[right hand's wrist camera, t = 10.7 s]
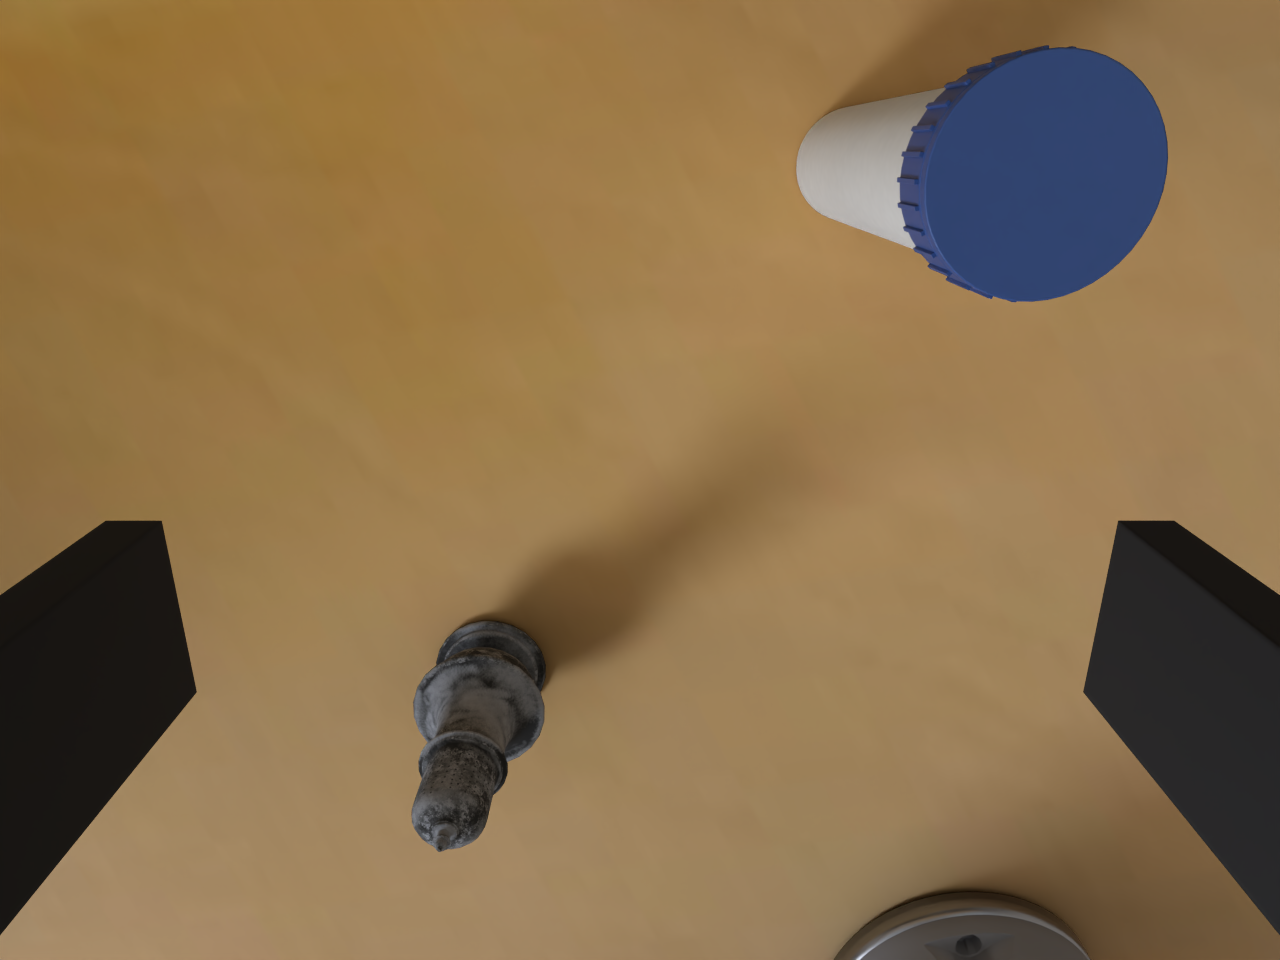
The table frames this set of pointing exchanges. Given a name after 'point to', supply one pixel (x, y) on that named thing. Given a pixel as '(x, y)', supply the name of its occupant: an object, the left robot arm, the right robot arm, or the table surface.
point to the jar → (861, 163)
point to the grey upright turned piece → (474, 727)
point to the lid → (1034, 173)
